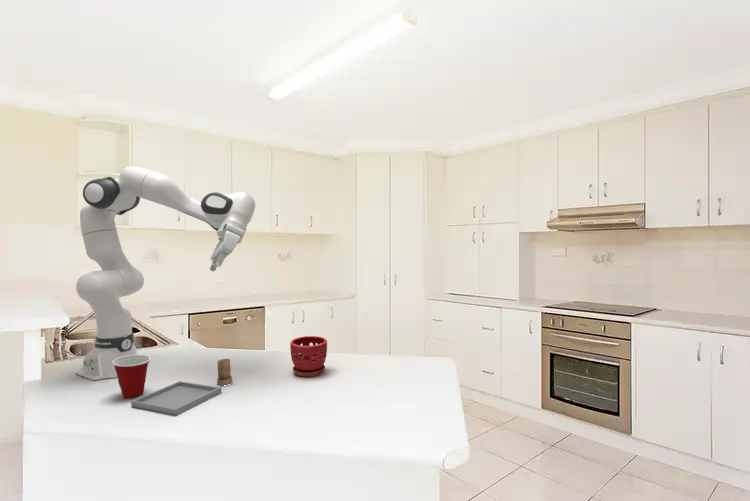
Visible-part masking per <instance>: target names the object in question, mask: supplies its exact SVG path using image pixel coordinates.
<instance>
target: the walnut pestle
mask: <svg viewBox="0 0 750 501" xmlns="http://www.w3.org/2000/svg"><path fill="white" fill-rule="evenodd" d="M231 374H232V373H231V359H229V358H222V359H218V360H217V376H218V377H217V379H216V384H217V386H218V385H220V386H219V387H225V386H224V385H228V384H231V383H232V384H233V377H232V375H231ZM232 384H231V385H232ZM228 386H229V385H228Z"/></svg>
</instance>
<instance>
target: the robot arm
mask: <svg viewBox="0 0 750 501" xmlns="http://www.w3.org/2000/svg"><path fill="white" fill-rule="evenodd" d="M82 189H83V190H82V196H83V199H84V201H85V202H86V205H85V206H83V207H82V208H81V210H80V212H79V221H80V222H79V223H80V231H81V236H82V239H83V244H84V248H85V251H86V255H87V257H88V258H89V259H90V260H93V261H94V262H96V263H97V265H98V266H99V267H100V268H101V269H100V270H94V271H92V272H89V273H86V274H83V275H81V276H80V277H79V278H78V279H77V281H76V285H75V288H76V289H75V290H76V293H77V294H78V297H80V299H81V300H83V301H85V302H86V303H88V304H89V306H90V307H91V309H92V311H93V314H94V316H95V322H96V331H97V337H94V338H93V342H95V344H94V347H93V349H91V351H89V352H88V353H87V354H86V355H85V356H84V358H83V361H82V365H83V367H82V368H79V369H78V370H75V371H76V372H75V375H77V374H78V376H81V377H82V376H83V378H85V379H88V380H90V381H99V380H104V379H112V378H113V379H114V378H118V377H117V373H116V370H115V367H114V365H113V363H112V362H113V360H115V359H116V358H119V357H123V356H128V355H138V352H137V347H136V345H135V344H134V342H135V335H134V332H133V328H132V327H133V325H132V315H131V312H130V310H128V309H126V308H124V307H123V305H122V303H121V300H120V298H121V297H122V298H123V297H127V296H131V295H133V294H134V293H136V292H140V291H141V289H142V288H143V286H144V283H145V278H144V276H143V274H142V272H141V271H140V270H139V269H137V268H136V267H134V265H133V264H132V263H131V262H130V261H129V260H128V258H127V256H126V255H125V253H124V251H123V248H122V246H121V241H120V238H119V234H118V233H119V232H118V230H117V227H116V222H115V218H116V216H117V215H118V216H122V215H124V214H126V213H127V212H130V211H132V210H133V209H135V208H137V206H138V205H139V203H140V202H141V201H140V200H141V199H142V200H143V199H144V200H147V201H150V202H152V203H156V204H158V205H161V206H165V207H167V208H170V209H172V210H176V211H177V212H181V213H182V214H185V215H188V216H190V217H193V218H195V219H197V220H199V221H202V222H204V223H206V224H208V225H209V226H210V227H211V228H212V229H213V230H215V231H216V234H217V236H218V242H217V244H216V247H215V248H214V250H213V252H212V254H211V255H210V261H212V262H211V265H210V267H209V271H211V272H215V271H216V270H217V267H218V268H220V267H222V264H224V261H225V259H226V258H227V257H228V256H230V254H232V253H233V251H234V250H235V248H236V246H237V245H238V244H241V243H242V240H243V238H244V237H245V234H246V232H247V227H248V225H249V224H250V223H251V220H252V217H253V215H254V212H255V209H256V202H255V200H254V198H253V196H251V195H250V194H248V193H246V192H244V191H237V192H234V193H233V192H232V193H221V192H218V191H217V192H210V193H208V194H206V195H205V196H203V198H202V200H201V201H198V200H196V199H195V198H192V197H191V196H190V195H188V194H187V193H186V192H185V191H184V190H183V189H182V188H181V187H180V185H179V184H178V183H177V182H176V181H175V180H174V179H173V178H171V177H170V176H168V175H166V174H165V173H162V172H159V171H156V170H153V169H150V168H145V167H140V166H134V165H130V166H127V167H125V168H124V169H122V170H121V171H120V174H119V176H118V177H117V178H114V177H112V176H107V177H102V178H96V179H92V180H90V181H88V182H87V183H86V184H85V185H84V187H83V188H82Z"/></svg>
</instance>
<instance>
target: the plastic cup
mask: <svg viewBox="0 0 750 501" xmlns="http://www.w3.org/2000/svg"><path fill="white" fill-rule="evenodd" d="M151 358H152V357H151V356H149V355H145V354H137V355H128V356H123V357H119V358H116V359H115V360H113V362H112V363H113V365H114V367H115V370H116V373H117V377H116V378H117V381H118V384H119V388H120V391H121V395H122V398H124V399H136V398H140V397H142V396H143V395H144V392H145V384H146V380H147V372H148V367H149V363H150V361H151Z"/></svg>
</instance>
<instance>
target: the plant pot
mask: <svg viewBox="0 0 750 501" xmlns="http://www.w3.org/2000/svg"><path fill="white" fill-rule="evenodd" d="M310 344H312V345H310ZM289 346H290V349H289V350H290V357H291V361H292V364H293V367H292V371H293V373H294V374H295V375H297V376H301V377H306V378H307V377H308V378H309V377H314V376H315V377H316V376H319V375H320V374H322V373H323V372H324V371H325V370H326V365H325V362H326V358H327V355H328V354H327V353H328V340H327V339H326V338H325V337H323V336H315V335H308V336H307V335H305V336H300V337H295V338H293V339H292V340H291V341H290V344H289Z"/></svg>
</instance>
